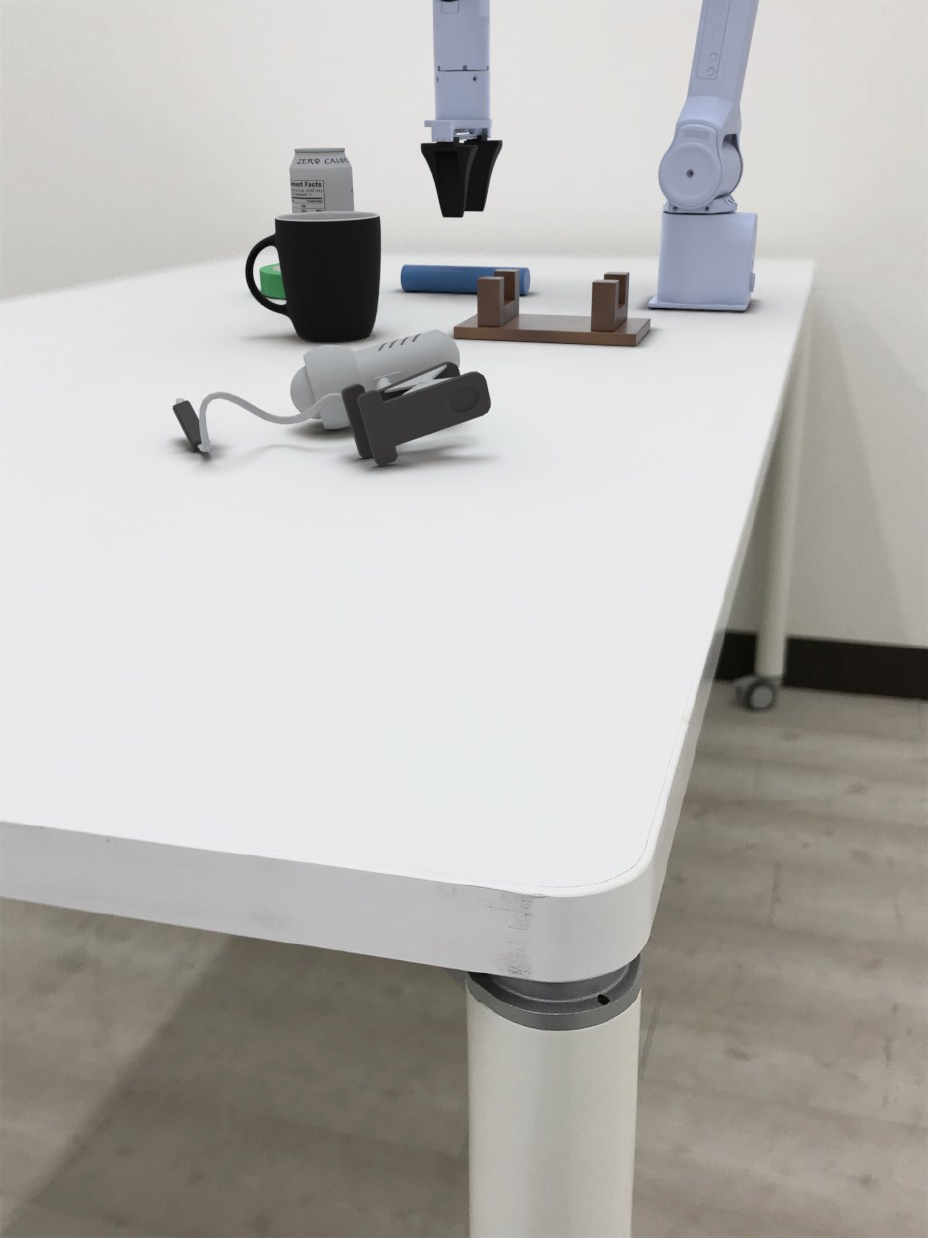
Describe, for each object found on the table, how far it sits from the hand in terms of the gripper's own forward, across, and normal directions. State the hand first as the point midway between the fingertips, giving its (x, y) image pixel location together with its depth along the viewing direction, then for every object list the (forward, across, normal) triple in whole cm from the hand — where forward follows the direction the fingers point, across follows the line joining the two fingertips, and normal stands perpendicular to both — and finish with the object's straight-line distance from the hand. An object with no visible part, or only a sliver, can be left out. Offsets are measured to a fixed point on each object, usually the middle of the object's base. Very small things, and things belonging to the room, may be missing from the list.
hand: (463, 214), depth 118 cm
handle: (+8, 0, 0) cm, 8 cm away
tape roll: (+8, +3, -17) cm, 19 cm away
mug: (+8, +28, -5) cm, 30 cm away
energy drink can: (+8, +14, -10) cm, 19 cm away
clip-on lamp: (+8, +60, +10) cm, 61 cm away
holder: (+8, +22, +15) cm, 28 cm away
